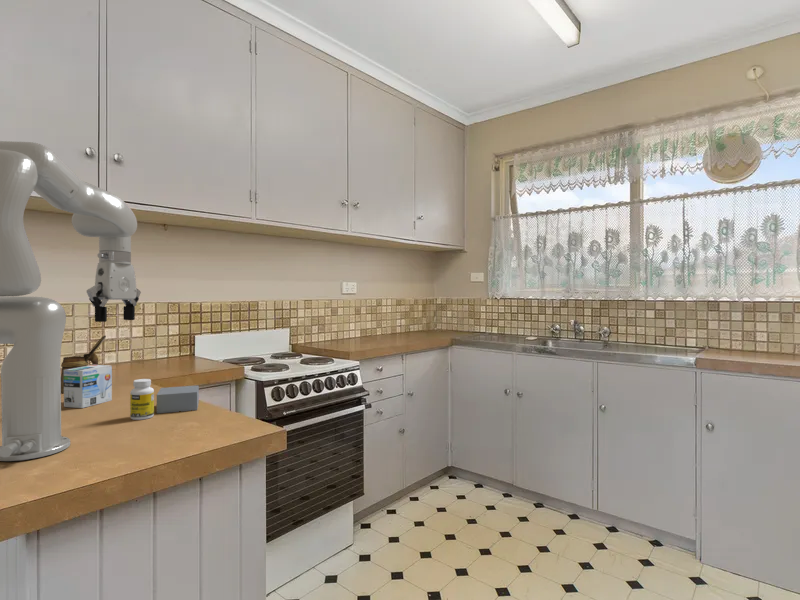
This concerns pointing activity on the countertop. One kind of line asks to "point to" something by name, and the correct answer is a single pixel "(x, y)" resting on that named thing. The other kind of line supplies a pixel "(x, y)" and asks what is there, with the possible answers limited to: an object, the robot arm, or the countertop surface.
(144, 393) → the supplement bottle
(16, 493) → the countertop surface
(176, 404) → the riser base
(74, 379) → the light bulb box
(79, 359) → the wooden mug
